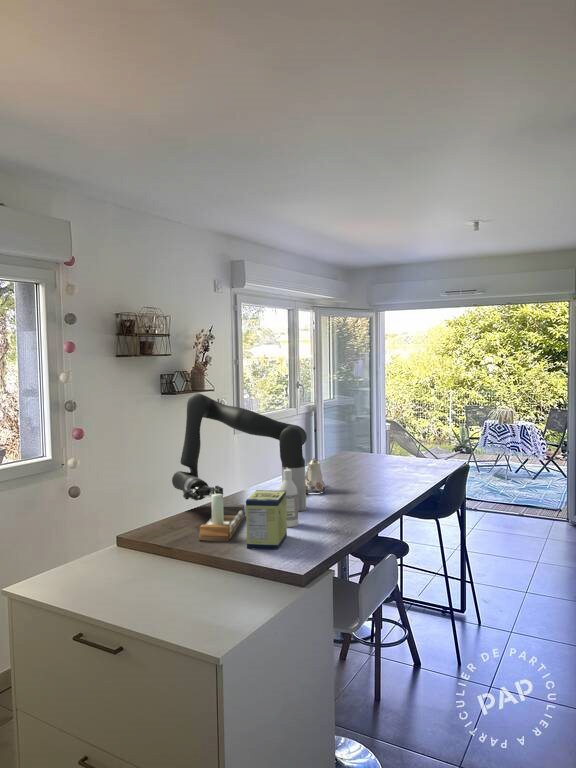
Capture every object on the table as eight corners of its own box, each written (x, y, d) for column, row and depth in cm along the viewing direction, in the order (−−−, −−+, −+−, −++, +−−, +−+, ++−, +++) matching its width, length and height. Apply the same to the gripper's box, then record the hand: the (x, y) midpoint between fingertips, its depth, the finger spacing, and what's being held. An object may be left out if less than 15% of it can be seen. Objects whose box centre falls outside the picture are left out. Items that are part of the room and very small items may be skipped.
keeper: (210, 527, 204) (209, 493, 204) (229, 527, 203) (229, 493, 203) (205, 532, 198) (205, 497, 198) (226, 532, 197) (225, 497, 197)
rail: (219, 515, 226) (219, 504, 226) (245, 516, 225) (244, 504, 225) (198, 541, 194) (198, 527, 194) (228, 541, 193) (228, 527, 193)
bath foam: (301, 526, 210) (300, 470, 209) (284, 528, 207) (283, 472, 206) (293, 521, 216) (292, 467, 215) (275, 524, 213) (274, 469, 212)
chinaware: (305, 488, 281) (301, 453, 281) (337, 487, 274) (333, 451, 274) (279, 501, 256) (274, 463, 256) (313, 500, 248) (309, 461, 249)
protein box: (287, 535, 199) (286, 490, 198) (278, 550, 183) (277, 500, 183) (257, 534, 201) (256, 489, 200) (246, 549, 185) (245, 500, 185)
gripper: (177, 480, 222) (188, 488, 207) (213, 476, 228) (227, 483, 213) (178, 499, 222) (189, 509, 208) (214, 495, 228) (227, 504, 214)
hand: (208, 496), depth 210 cm, fingers open, 8 cm apart
